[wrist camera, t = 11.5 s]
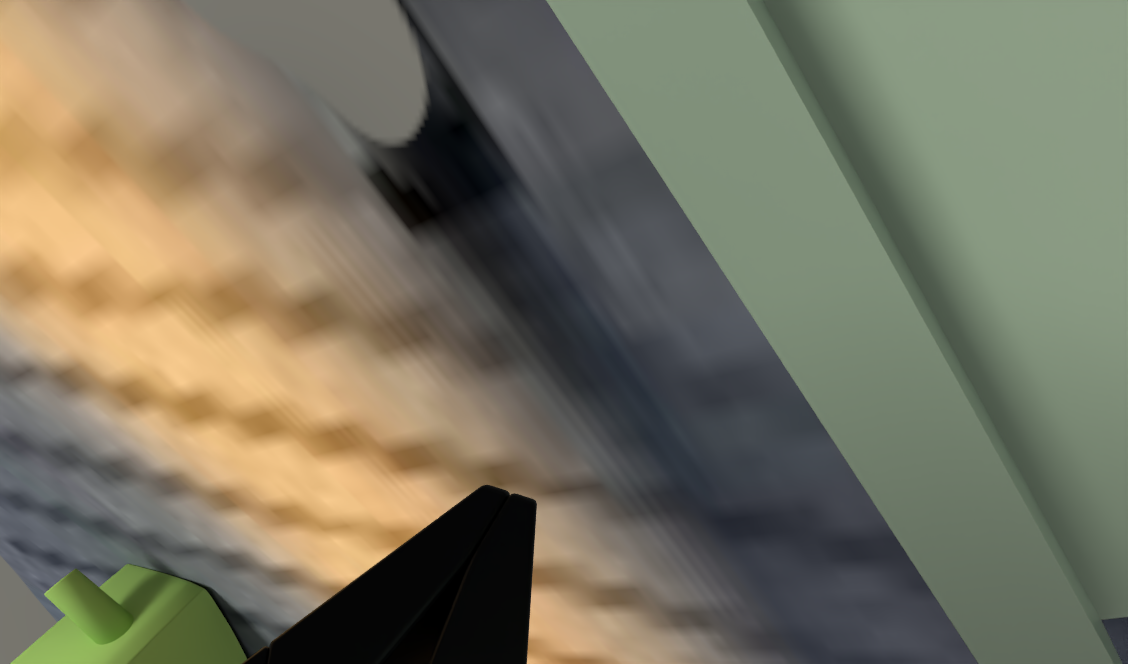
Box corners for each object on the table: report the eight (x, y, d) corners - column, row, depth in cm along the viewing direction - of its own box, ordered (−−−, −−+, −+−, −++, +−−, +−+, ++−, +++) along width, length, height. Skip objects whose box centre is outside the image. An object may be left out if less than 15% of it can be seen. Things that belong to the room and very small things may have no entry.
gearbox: (89, 511, 44) (-63, 622, 37) (184, 541, 41) (39, 671, 33) (183, 654, 53) (77, 768, 45) (267, 689, 50) (168, 818, 42)
